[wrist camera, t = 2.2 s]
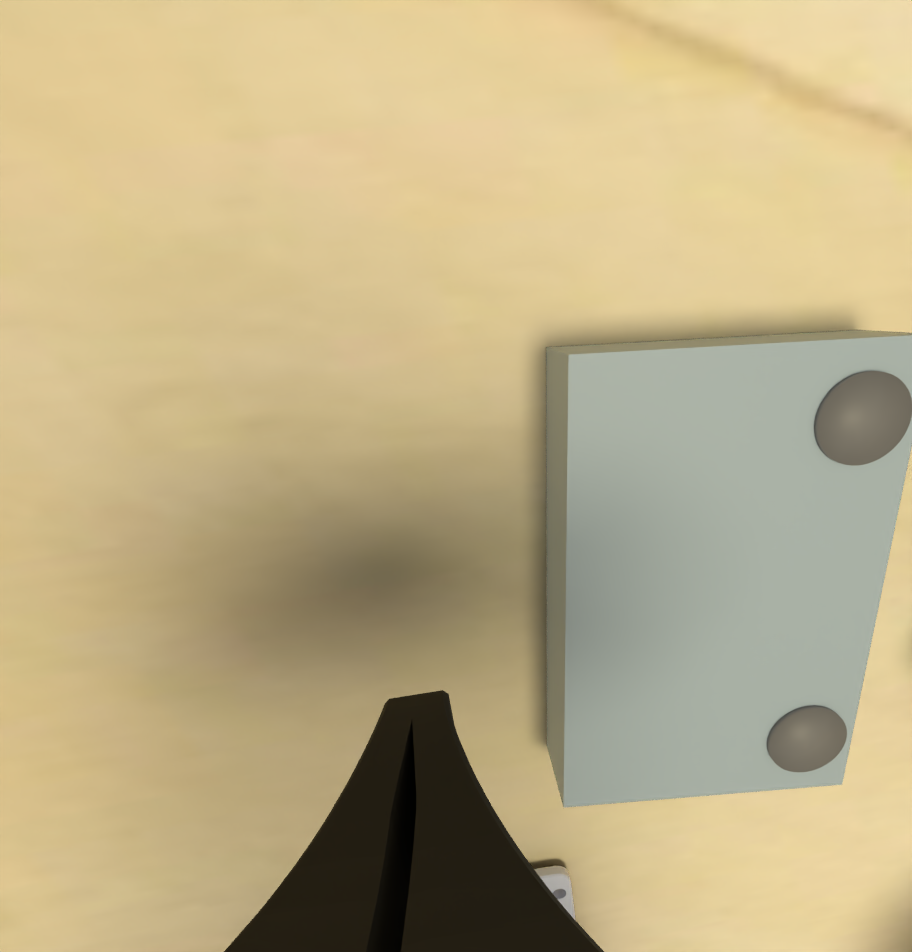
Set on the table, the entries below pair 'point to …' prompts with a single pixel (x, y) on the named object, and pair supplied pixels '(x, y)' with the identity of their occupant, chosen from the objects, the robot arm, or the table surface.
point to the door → (716, 556)
